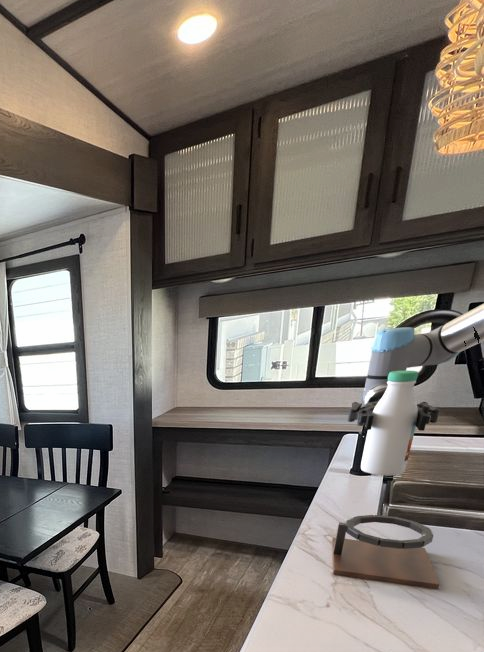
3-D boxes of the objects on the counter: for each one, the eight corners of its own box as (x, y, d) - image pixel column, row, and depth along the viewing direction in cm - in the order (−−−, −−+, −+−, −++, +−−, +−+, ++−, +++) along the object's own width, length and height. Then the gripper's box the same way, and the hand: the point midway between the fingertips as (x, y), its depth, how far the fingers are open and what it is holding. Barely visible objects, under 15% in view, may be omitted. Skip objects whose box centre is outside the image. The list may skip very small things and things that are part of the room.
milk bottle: (395, 478, 94) (420, 374, 86) (353, 472, 99) (372, 373, 91) (410, 469, 97) (435, 369, 89) (369, 464, 103) (388, 369, 95)
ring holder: (423, 551, 95) (433, 517, 92) (438, 589, 83) (450, 551, 80) (331, 541, 103) (338, 509, 100) (333, 574, 90) (340, 538, 87)
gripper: (437, 420, 105) (459, 444, 87) (330, 419, 114) (330, 440, 97) (446, 385, 102) (471, 402, 84) (335, 387, 111) (337, 403, 94)
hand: (396, 423), depth 90 cm, fingers closed on milk bottle, 8 cm apart
